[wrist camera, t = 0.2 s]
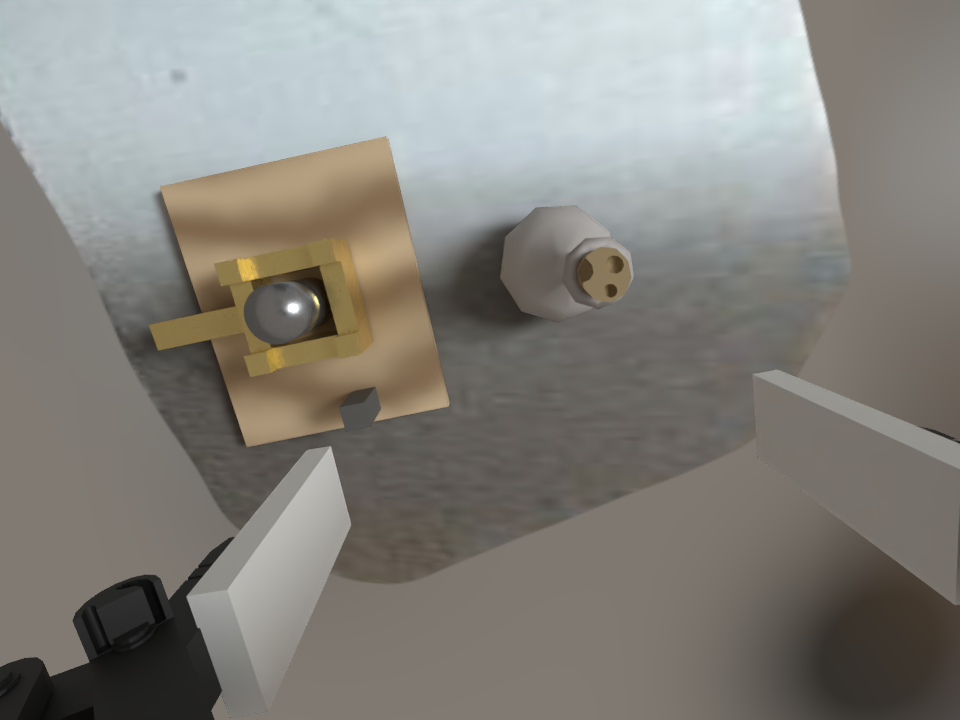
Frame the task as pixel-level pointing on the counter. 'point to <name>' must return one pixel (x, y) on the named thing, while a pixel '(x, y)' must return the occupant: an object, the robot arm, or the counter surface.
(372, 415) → the block
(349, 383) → the oak board
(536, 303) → the potion bottle
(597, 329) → the counter surface
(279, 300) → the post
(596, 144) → the counter surface
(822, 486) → the robot arm
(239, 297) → the handled square frame
